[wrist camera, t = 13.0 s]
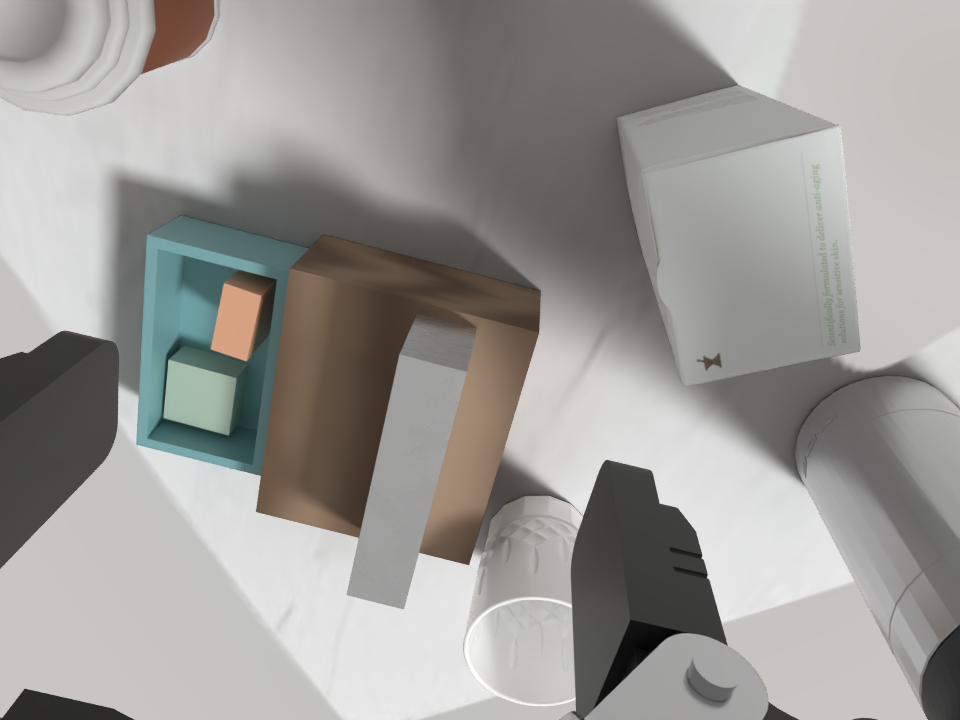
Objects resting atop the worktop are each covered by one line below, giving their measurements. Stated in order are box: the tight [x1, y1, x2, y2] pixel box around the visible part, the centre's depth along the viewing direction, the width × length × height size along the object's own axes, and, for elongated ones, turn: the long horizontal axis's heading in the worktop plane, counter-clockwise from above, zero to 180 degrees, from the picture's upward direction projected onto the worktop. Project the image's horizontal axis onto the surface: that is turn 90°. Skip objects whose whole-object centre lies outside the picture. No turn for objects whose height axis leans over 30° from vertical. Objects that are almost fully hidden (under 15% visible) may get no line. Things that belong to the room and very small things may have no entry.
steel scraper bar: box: [347, 312, 477, 609], centre depth 38 cm, size 3×14×5 cm, turn 166°
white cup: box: [463, 496, 583, 706], centre depth 45 cm, size 8×8×10 cm
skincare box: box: [617, 85, 860, 387], centre depth 32 cm, size 8×7×16 cm
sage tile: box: [163, 346, 249, 435], centre depth 46 cm, size 4×4×2 cm
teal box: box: [136, 215, 309, 476], centre depth 44 cm, size 8×13×4 cm, turn 166°
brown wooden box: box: [256, 235, 541, 565], centre depth 43 cm, size 12×15×6 cm
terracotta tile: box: [211, 270, 277, 361], centre depth 42 cm, size 4×4×2 cm
